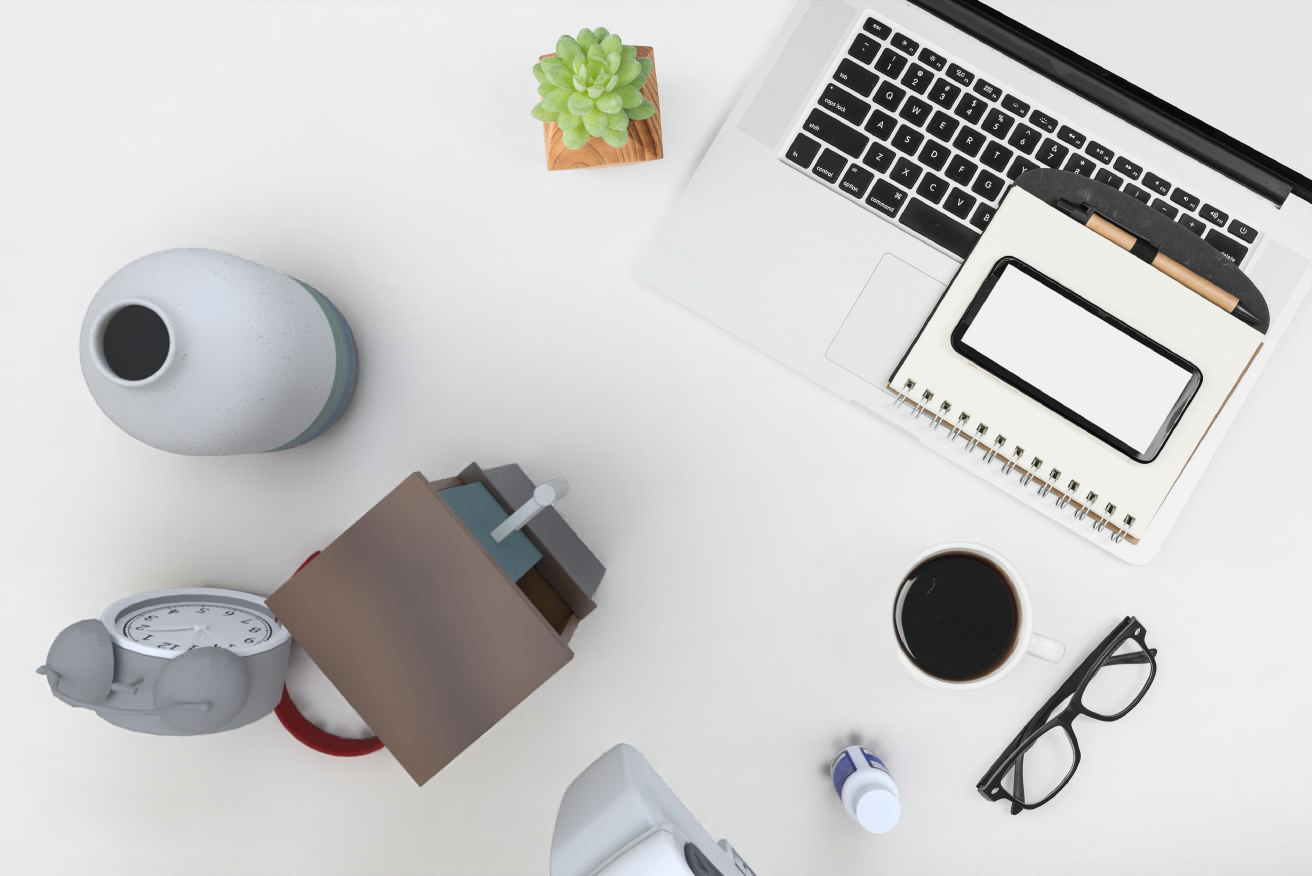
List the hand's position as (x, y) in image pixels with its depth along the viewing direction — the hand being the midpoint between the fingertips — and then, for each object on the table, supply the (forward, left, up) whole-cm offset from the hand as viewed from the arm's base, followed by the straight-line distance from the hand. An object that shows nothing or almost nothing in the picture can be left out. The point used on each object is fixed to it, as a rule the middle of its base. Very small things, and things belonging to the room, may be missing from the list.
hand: (730, 867), depth 43 cm
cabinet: (-7, +20, -39) cm, 44 cm away
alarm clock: (-34, +32, -39) cm, 61 cm away
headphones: (-26, +23, -39) cm, 53 cm away
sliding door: (+1, +22, -17) cm, 28 cm away
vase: (-13, +49, -39) cm, 64 cm away
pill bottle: (+4, -18, -39) cm, 43 cm away
